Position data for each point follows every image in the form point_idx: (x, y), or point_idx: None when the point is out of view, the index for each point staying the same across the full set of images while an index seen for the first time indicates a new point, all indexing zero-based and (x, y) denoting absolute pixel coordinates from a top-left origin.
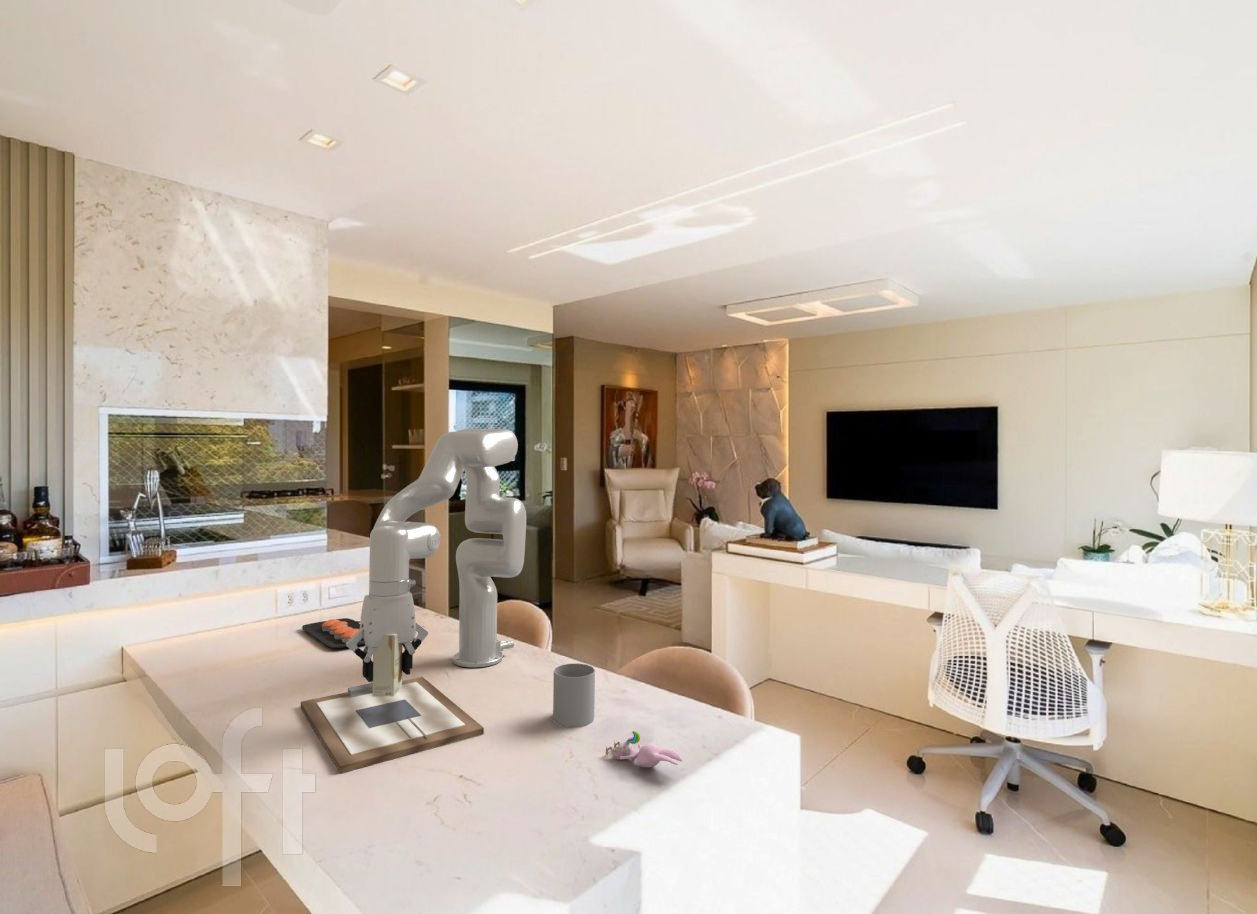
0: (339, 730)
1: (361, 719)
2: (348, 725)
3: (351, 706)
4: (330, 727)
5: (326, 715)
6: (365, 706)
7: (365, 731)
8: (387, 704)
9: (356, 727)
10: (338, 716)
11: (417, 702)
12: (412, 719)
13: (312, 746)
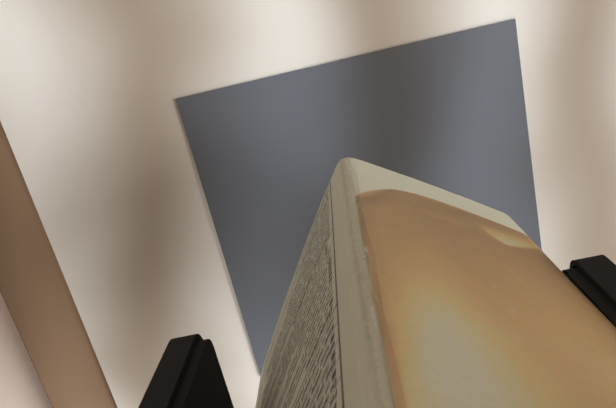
0: (110, 348)
1: (217, 249)
2: (151, 302)
3: (143, 5)
4: (58, 279)
5: (1, 108)
6: (237, 44)
7: (241, 403)
8: (383, 76)
9: None
10: (78, 154)
11: (583, 109)
12: None
13: (14, 365)
